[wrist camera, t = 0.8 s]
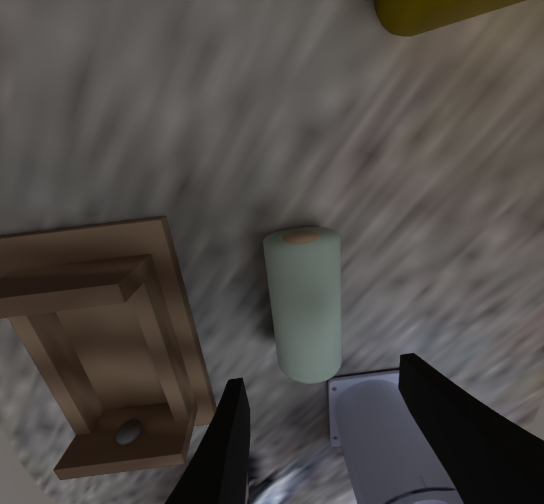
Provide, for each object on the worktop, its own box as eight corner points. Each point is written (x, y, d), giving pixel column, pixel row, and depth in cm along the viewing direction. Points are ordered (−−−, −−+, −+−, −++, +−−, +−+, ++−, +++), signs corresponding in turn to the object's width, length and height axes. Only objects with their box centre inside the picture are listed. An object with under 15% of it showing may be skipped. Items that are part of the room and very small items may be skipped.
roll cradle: (218, 413, 25) (207, 480, 20) (97, 428, 25) (55, 500, 20) (165, 216, 18) (128, 240, 13) (-5, 236, 18) (-113, 269, 12)
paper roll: (329, 332, 22) (352, 378, 18) (274, 341, 22) (282, 389, 18) (326, 222, 19) (353, 242, 14) (260, 230, 19) (265, 255, 14)
